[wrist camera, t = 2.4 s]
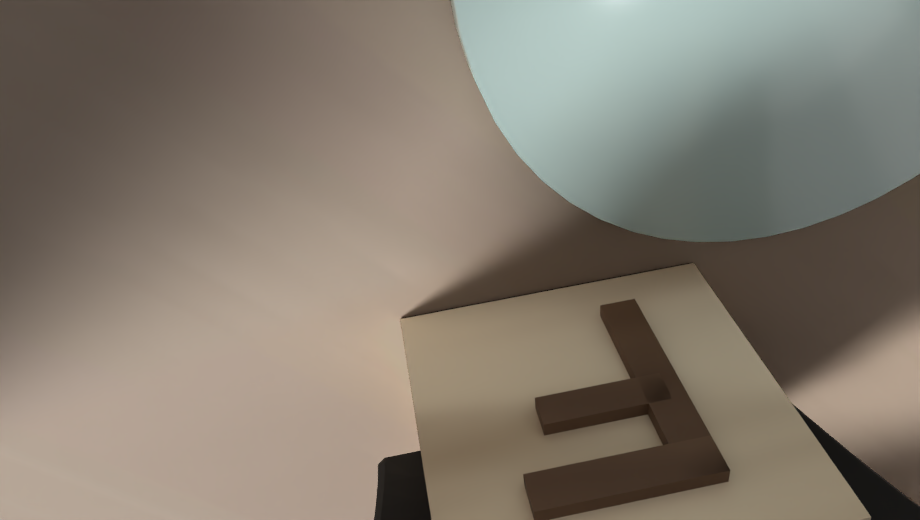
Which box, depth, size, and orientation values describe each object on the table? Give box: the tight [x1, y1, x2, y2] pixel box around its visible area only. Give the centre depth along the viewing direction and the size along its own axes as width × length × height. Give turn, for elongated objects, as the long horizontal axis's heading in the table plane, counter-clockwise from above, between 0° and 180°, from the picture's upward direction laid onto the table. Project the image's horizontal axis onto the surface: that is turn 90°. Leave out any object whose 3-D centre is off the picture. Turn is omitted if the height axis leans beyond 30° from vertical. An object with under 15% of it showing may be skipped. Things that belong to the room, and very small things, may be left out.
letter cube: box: [400, 263, 871, 520], centre depth 11 cm, size 5×4×4 cm
